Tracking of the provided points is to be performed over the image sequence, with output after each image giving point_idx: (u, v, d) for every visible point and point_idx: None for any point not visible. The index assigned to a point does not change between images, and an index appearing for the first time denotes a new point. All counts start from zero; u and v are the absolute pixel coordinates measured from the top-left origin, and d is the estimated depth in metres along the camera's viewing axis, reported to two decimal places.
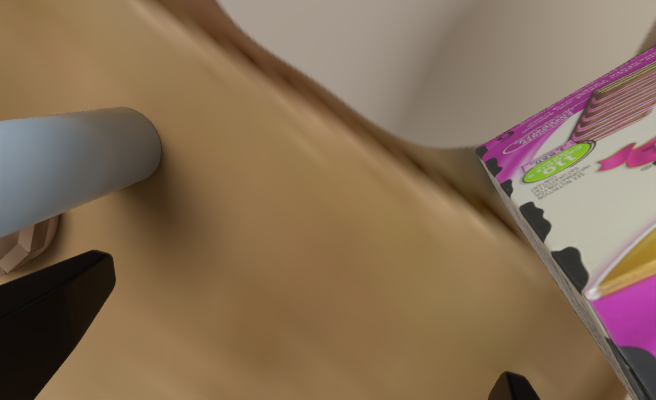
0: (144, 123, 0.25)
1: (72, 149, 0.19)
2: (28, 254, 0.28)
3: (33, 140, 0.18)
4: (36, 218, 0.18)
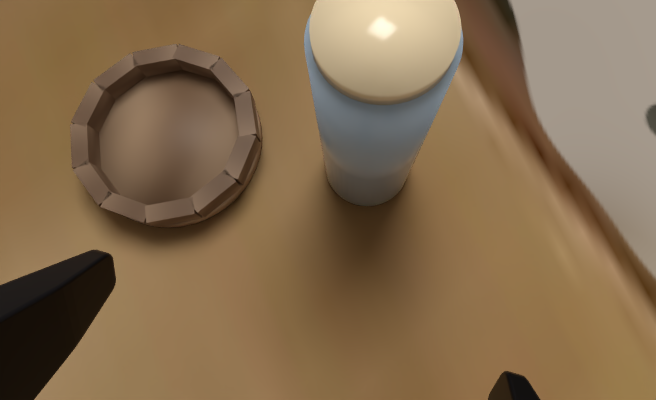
0: None
1: None
2: (191, 214, 0.22)
3: None
4: (397, 147, 0.15)
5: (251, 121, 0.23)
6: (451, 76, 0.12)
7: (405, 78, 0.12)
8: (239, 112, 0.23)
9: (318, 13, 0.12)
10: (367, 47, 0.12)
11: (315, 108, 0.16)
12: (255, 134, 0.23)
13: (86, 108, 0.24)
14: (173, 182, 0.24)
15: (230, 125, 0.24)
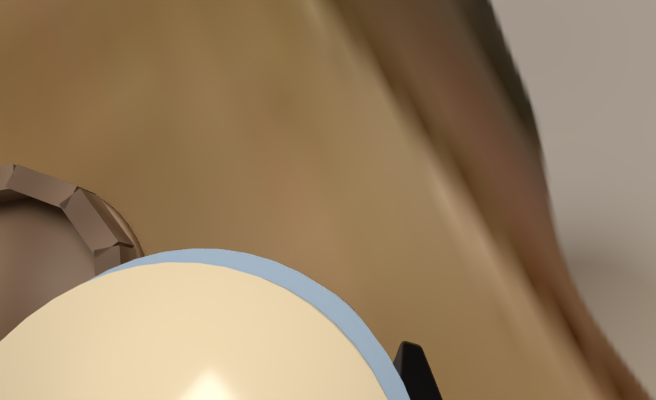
0: None
1: None
2: None
3: None
4: None
5: None
6: None
7: None
8: None
9: None
10: None
11: None
12: None
13: None
14: None
15: None
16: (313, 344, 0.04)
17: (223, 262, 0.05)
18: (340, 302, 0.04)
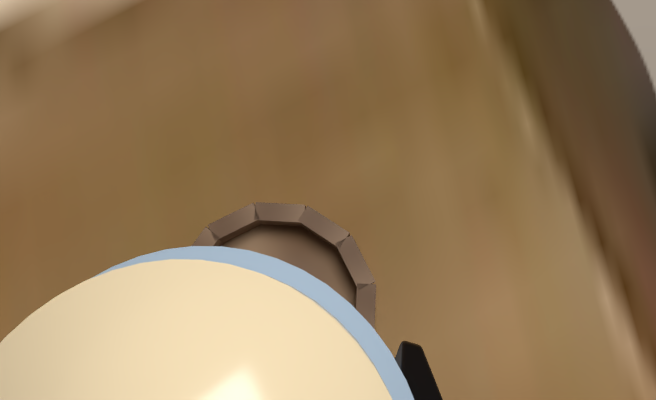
0: None
1: None
2: None
3: None
4: None
5: (371, 322, 0.20)
6: None
7: None
8: (359, 308, 0.21)
9: None
10: None
11: None
12: None
13: None
14: None
15: None
16: (316, 340, 0.04)
17: (226, 259, 0.05)
18: (343, 299, 0.04)
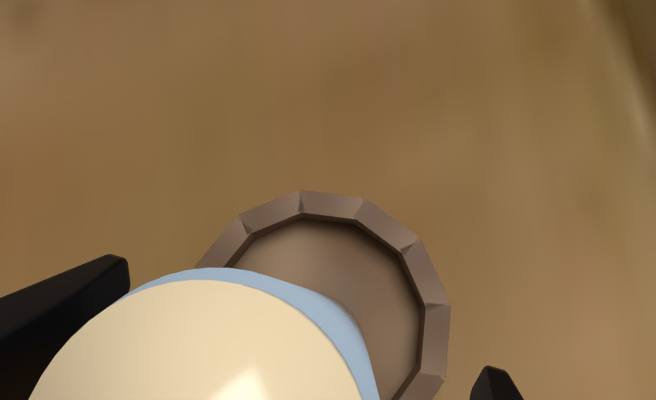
0: None
1: None
2: None
3: None
4: None
5: (442, 355, 0.16)
6: None
7: None
8: (428, 334, 0.16)
9: None
10: None
11: None
12: (443, 375, 0.16)
13: (220, 253, 0.17)
14: None
15: (402, 332, 0.17)
16: (299, 340, 0.05)
17: (232, 278, 0.06)
18: (322, 309, 0.06)
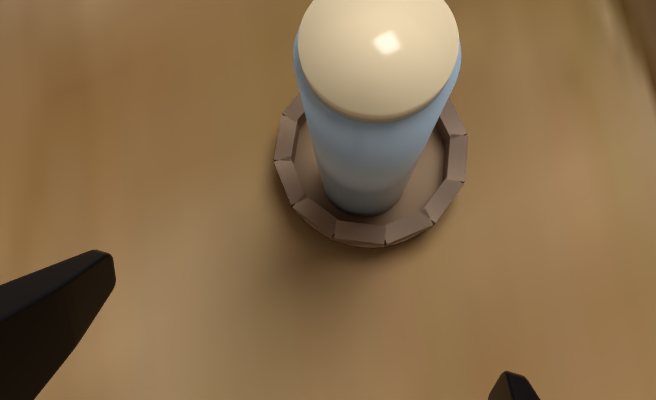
0: None
1: None
2: (380, 243, 0.22)
3: None
4: (393, 163, 0.14)
5: (462, 167, 0.22)
6: (448, 92, 0.12)
7: (399, 95, 0.11)
8: (452, 154, 0.22)
9: (307, 26, 0.12)
10: (359, 62, 0.11)
11: (307, 122, 0.15)
12: (462, 182, 0.22)
13: (300, 103, 0.23)
14: None
15: (432, 162, 0.24)
16: None
17: None
18: None
